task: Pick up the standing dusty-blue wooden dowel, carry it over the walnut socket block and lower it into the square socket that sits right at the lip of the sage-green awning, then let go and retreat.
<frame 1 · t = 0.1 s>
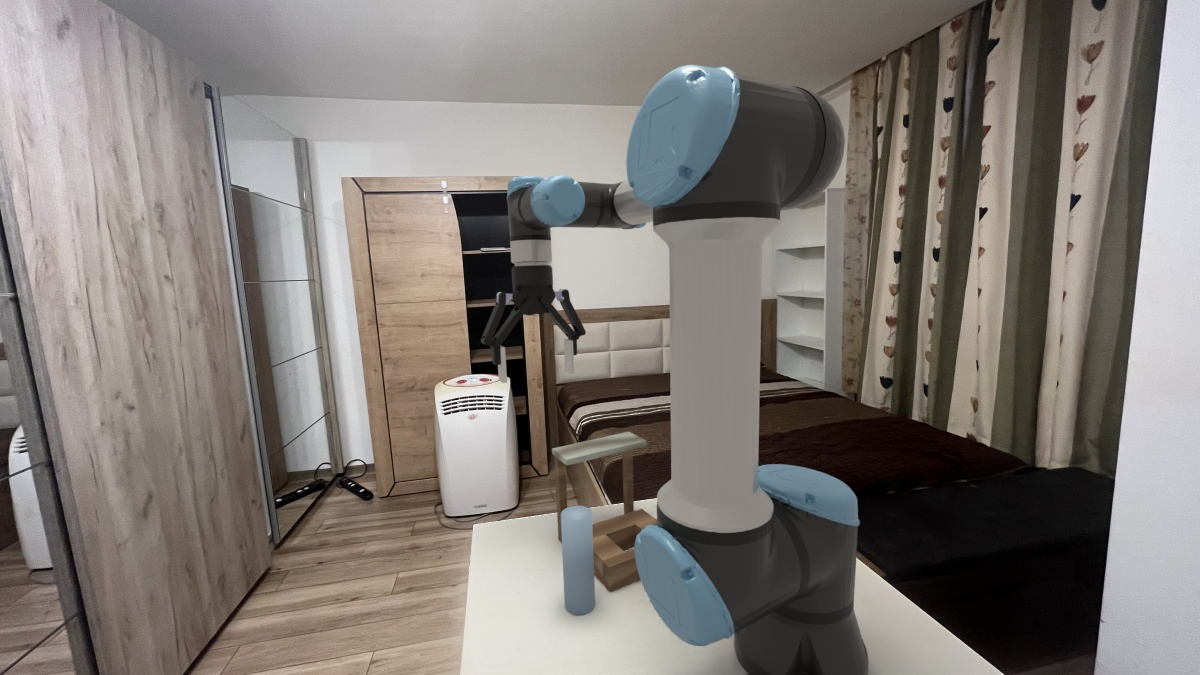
hand: (537, 376, 91), 28 cm above the table, fingers open, 13 cm apart
peg: (580, 604, 68), on the table
socket station: (630, 560, 78), on the table
shell: (713, 520, 91), on the table
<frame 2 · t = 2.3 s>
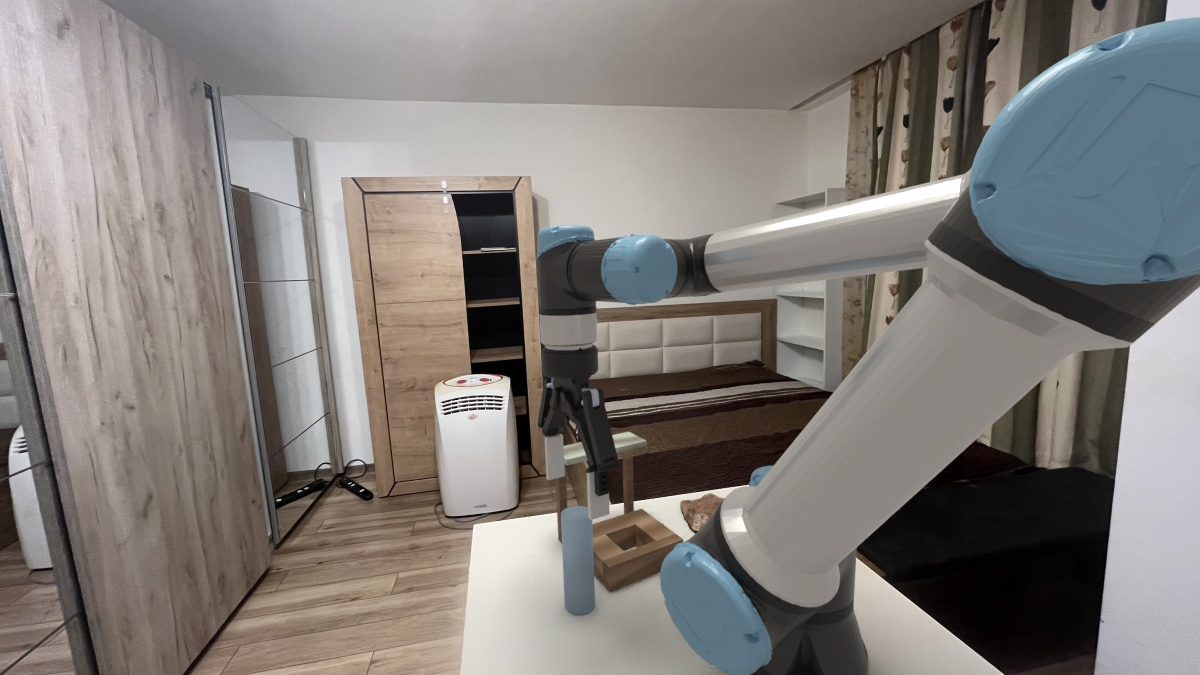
hand: (575, 495, 66), 17 cm above the table, fingers open, 13 cm apart
nothing on the table moved.
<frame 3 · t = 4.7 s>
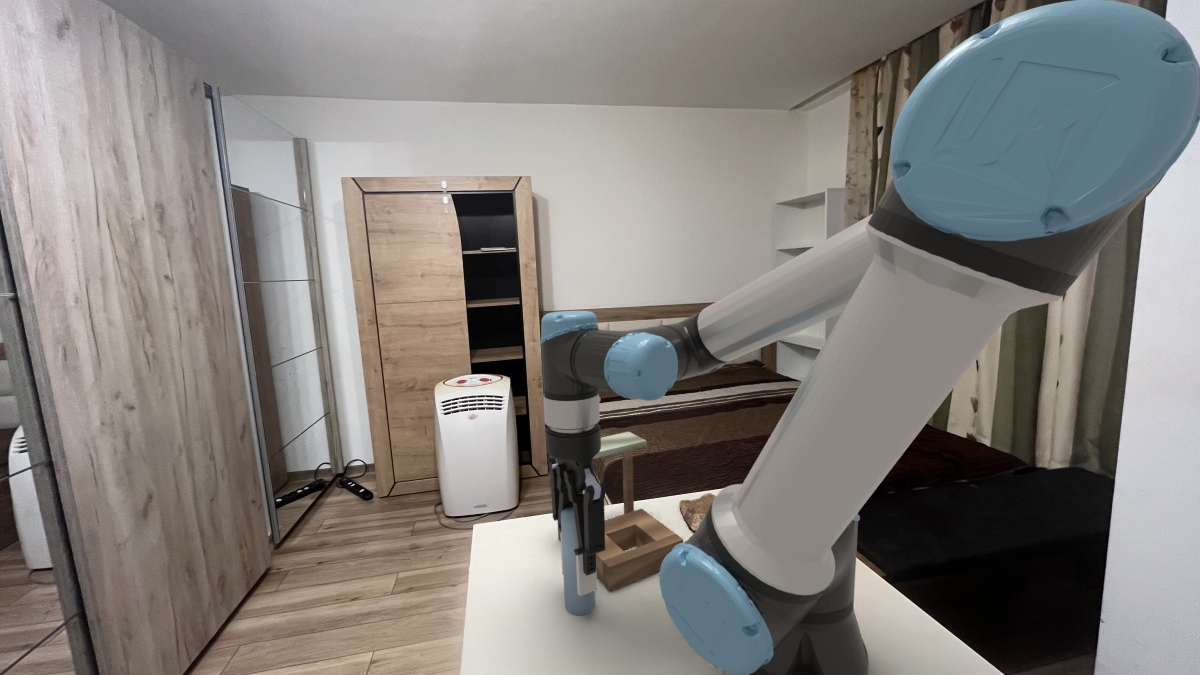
hand: (579, 581, 68), 4 cm above the table, fingers closed on peg, 4 cm apart
peg: (580, 604, 68), on the table, touching gripper
everything else where it was.
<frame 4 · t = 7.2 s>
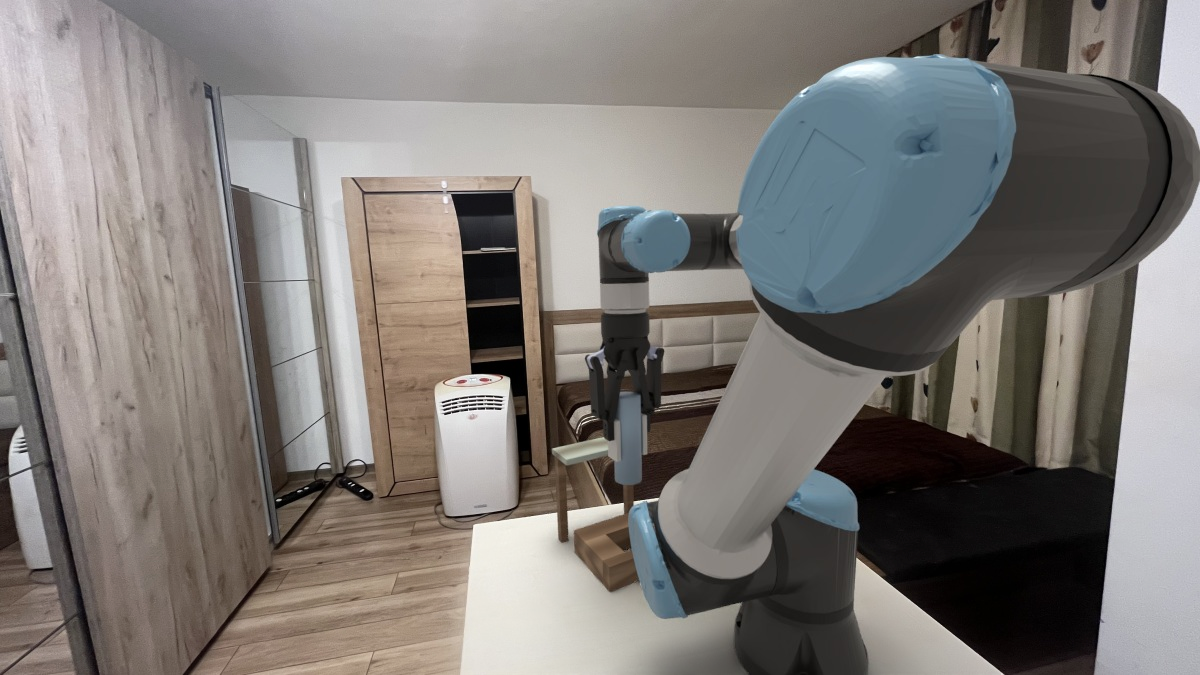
hand: (627, 455, 76), 18 cm above the table, fingers closed on peg, 4 cm apart
peg: (628, 478, 77), point 14 cm above the table, touching gripper
everything else where it was.
when the fingers open (6 cm above the table, at t = 9.6 s): peg stays where it is, resting in socket station.
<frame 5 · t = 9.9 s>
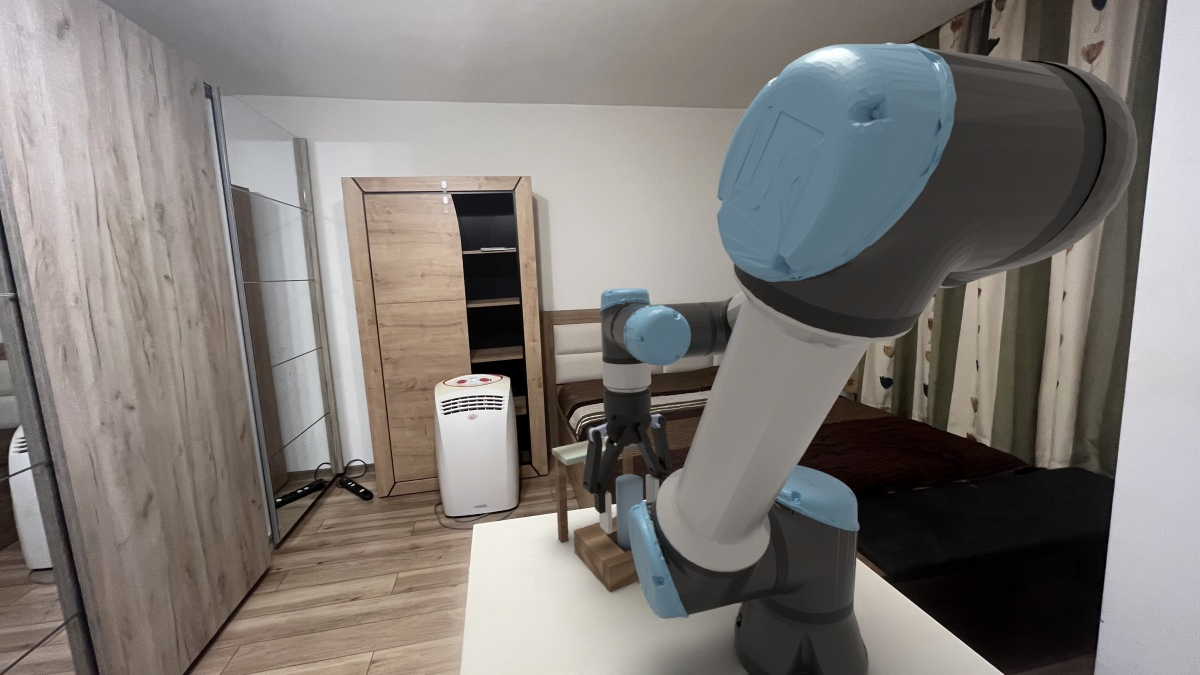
hand: (630, 521, 77), 7 cm above the table, fingers open, 8 cm apart
peg: (631, 560, 78), resting in socket station
everything else where it was.
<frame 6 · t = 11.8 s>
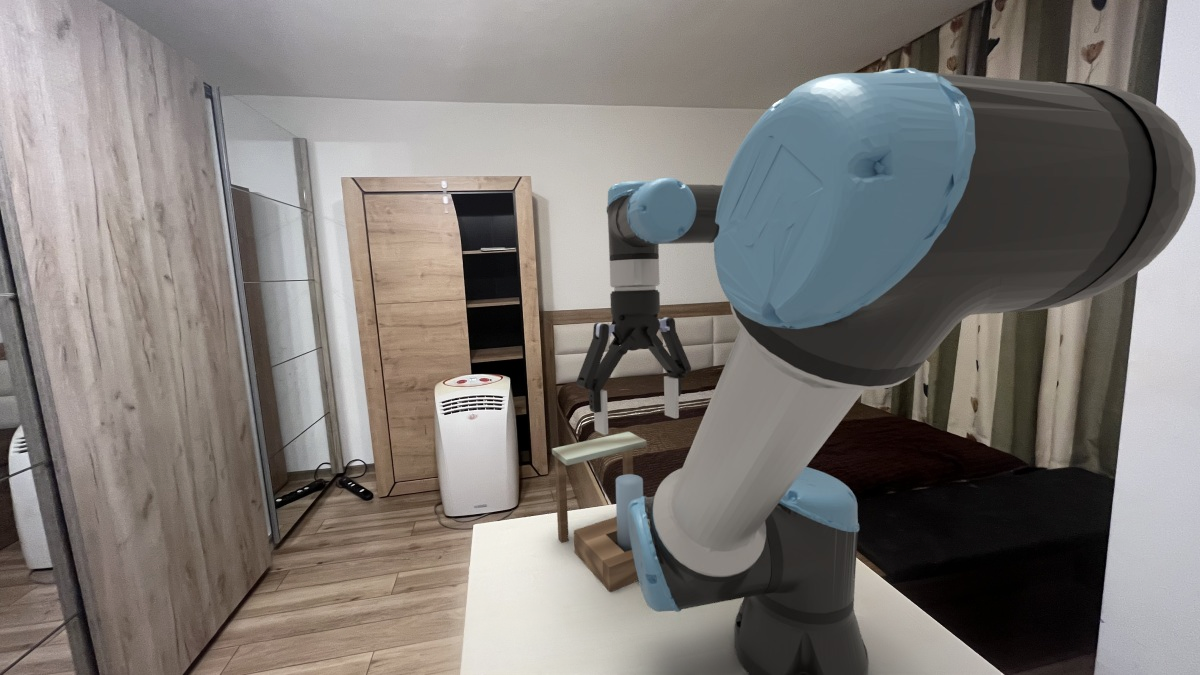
hand: (638, 424, 75), 24 cm above the table, fingers open, 13 cm apart
nothing on the table moved.
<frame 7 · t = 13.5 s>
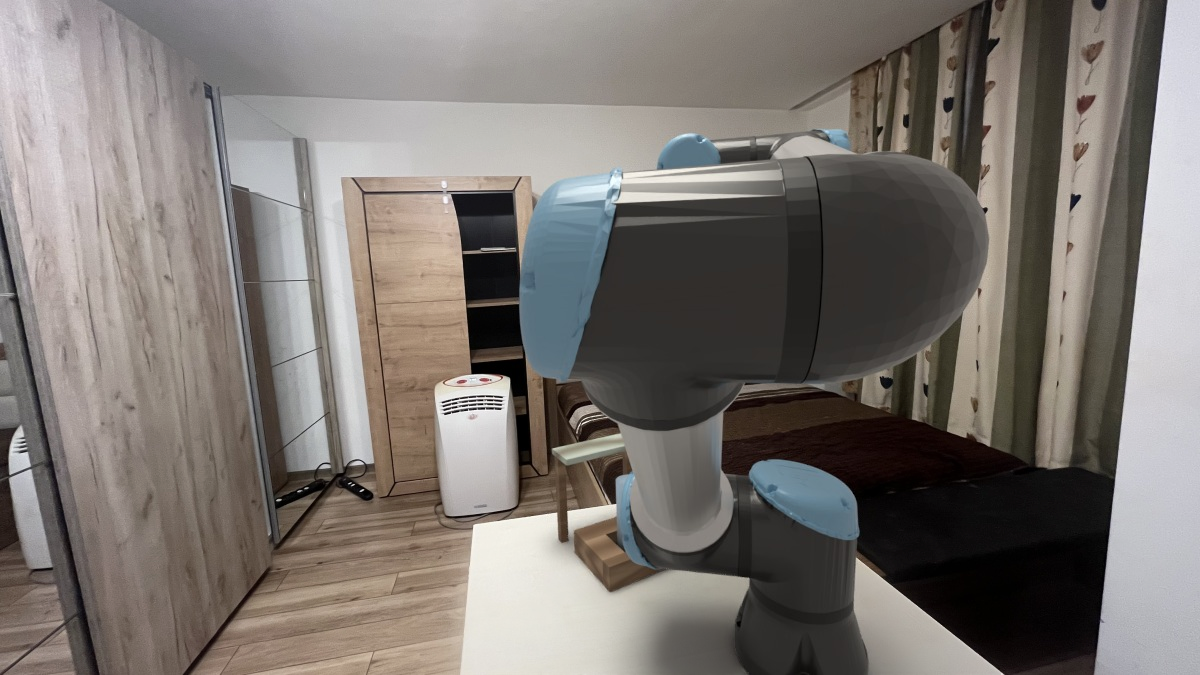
hand: (692, 389, 74), 29 cm above the table, fingers open, 13 cm apart
nothing on the table moved.
at the end: peg 0.0 cm off-centre on the socket station, point 0.0 cm above the socket station's base; peg tilted 0°; the gripper is holding nothing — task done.
